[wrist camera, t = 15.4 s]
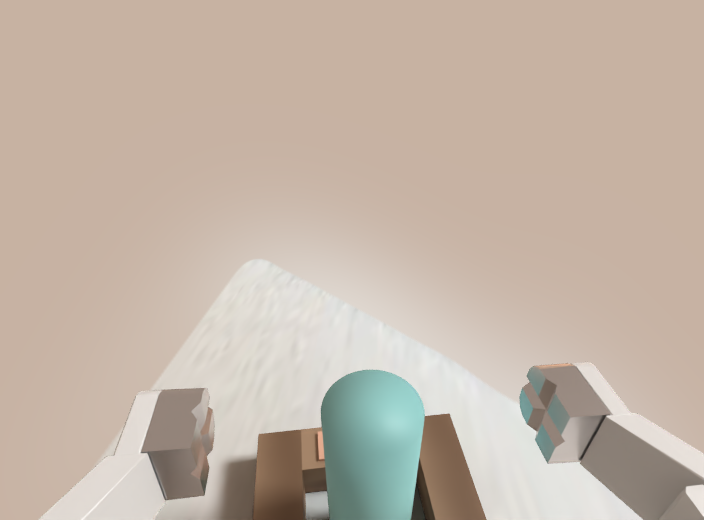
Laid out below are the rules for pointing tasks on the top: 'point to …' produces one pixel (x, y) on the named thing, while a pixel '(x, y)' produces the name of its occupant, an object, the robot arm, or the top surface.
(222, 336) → the top surface
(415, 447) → the teal peg
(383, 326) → the top surface
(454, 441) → the hole plate
